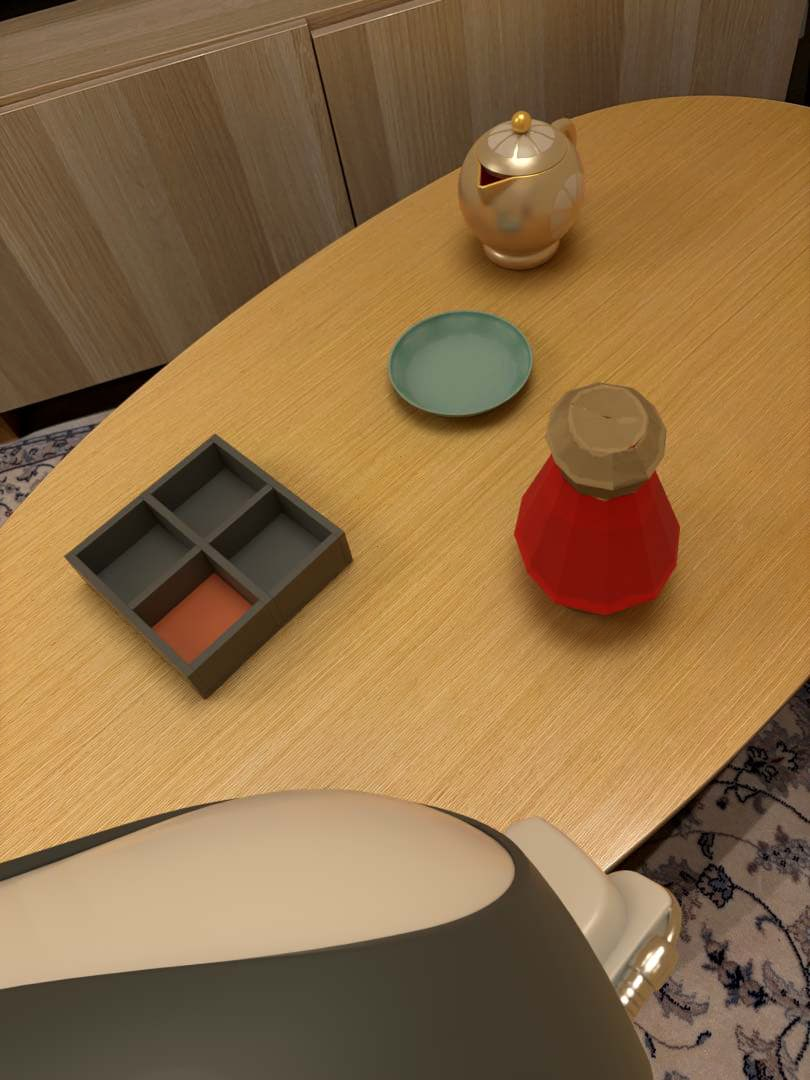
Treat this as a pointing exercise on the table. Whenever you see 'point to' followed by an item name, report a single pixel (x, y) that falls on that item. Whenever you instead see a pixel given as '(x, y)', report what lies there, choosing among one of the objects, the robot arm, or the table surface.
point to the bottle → (600, 504)
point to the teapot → (522, 189)
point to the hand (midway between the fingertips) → (340, 980)
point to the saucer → (460, 363)
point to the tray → (211, 562)
